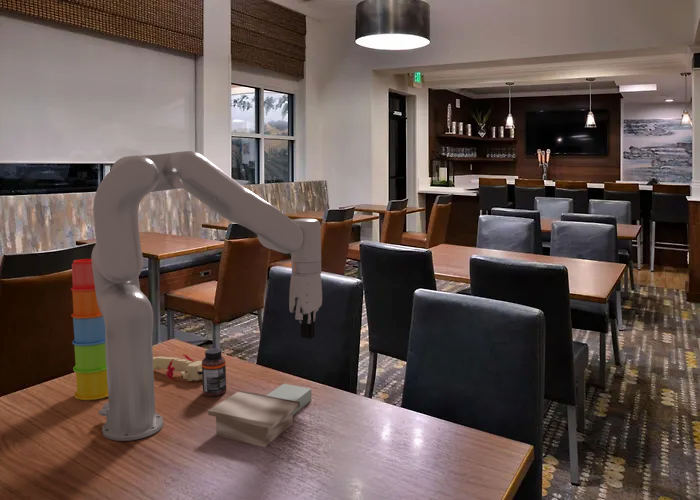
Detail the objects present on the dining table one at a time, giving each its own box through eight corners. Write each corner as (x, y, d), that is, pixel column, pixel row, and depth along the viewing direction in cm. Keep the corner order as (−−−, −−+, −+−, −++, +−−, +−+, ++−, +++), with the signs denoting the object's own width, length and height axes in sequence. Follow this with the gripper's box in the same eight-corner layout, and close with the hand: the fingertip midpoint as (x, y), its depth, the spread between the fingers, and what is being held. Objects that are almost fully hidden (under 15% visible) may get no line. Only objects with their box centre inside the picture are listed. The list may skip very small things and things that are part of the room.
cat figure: (127, 378, 158) (198, 385, 148) (124, 348, 157) (195, 353, 147) (152, 367, 167) (221, 373, 157) (149, 338, 166) (218, 343, 156)
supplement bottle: (208, 387, 148) (206, 346, 147) (229, 388, 148) (228, 347, 146) (199, 396, 142) (197, 353, 141) (221, 397, 142) (220, 354, 140)
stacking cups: (66, 401, 139) (57, 263, 134) (85, 385, 149) (77, 256, 144) (108, 401, 139) (100, 263, 134) (124, 386, 149) (117, 257, 144)
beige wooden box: (240, 412, 133) (239, 390, 132) (299, 425, 127) (299, 401, 126) (208, 434, 122) (208, 410, 121) (272, 449, 116) (271, 423, 115)
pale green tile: (258, 413, 133) (258, 401, 132) (283, 394, 144) (283, 383, 143) (287, 419, 130) (287, 407, 129) (311, 400, 141) (311, 388, 140)
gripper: (307, 261, 150) (308, 328, 153) (278, 271, 137) (280, 344, 140) (332, 263, 147) (333, 331, 150) (305, 274, 134) (307, 347, 137)
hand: (307, 337), depth 145 cm, fingers closed
